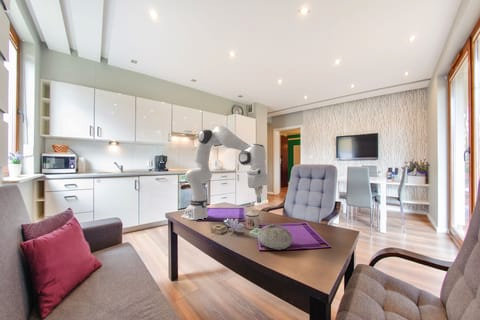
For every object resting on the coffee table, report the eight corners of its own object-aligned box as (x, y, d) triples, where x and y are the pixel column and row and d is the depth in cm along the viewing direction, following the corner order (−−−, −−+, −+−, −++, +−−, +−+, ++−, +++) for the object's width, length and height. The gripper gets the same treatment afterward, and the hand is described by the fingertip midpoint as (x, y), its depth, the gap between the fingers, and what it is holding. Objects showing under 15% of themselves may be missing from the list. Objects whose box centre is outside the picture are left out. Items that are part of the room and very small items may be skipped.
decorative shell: (297, 244, 104) (297, 225, 104) (284, 257, 90) (284, 235, 90) (267, 237, 114) (266, 220, 115) (251, 248, 100) (251, 228, 100)
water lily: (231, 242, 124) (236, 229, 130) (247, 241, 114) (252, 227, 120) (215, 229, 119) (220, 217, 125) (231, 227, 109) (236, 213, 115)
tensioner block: (210, 232, 124) (210, 227, 124) (217, 228, 130) (217, 224, 130) (219, 234, 120) (219, 229, 120) (226, 230, 126) (226, 226, 126)
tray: (249, 236, 116) (249, 232, 116) (255, 231, 123) (255, 227, 123) (263, 239, 111) (263, 235, 111) (269, 234, 119) (269, 230, 119)
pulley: (221, 227, 132) (221, 219, 132) (227, 225, 138) (227, 217, 138) (230, 229, 128) (230, 221, 128) (235, 226, 134) (235, 218, 134)
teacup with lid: (243, 227, 132) (243, 210, 132) (250, 224, 139) (250, 207, 139) (258, 231, 124) (258, 212, 125) (265, 227, 132) (265, 210, 132)
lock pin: (255, 202, 117) (254, 185, 117) (257, 201, 120) (257, 185, 120) (260, 203, 115) (260, 186, 115) (263, 202, 118) (262, 185, 118)
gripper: (261, 170, 128) (261, 191, 128) (245, 171, 111) (245, 196, 111) (270, 170, 125) (270, 191, 125) (255, 171, 107) (255, 196, 107)
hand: (258, 193), depth 117 cm, fingers closed on lock pin, 2 cm apart
